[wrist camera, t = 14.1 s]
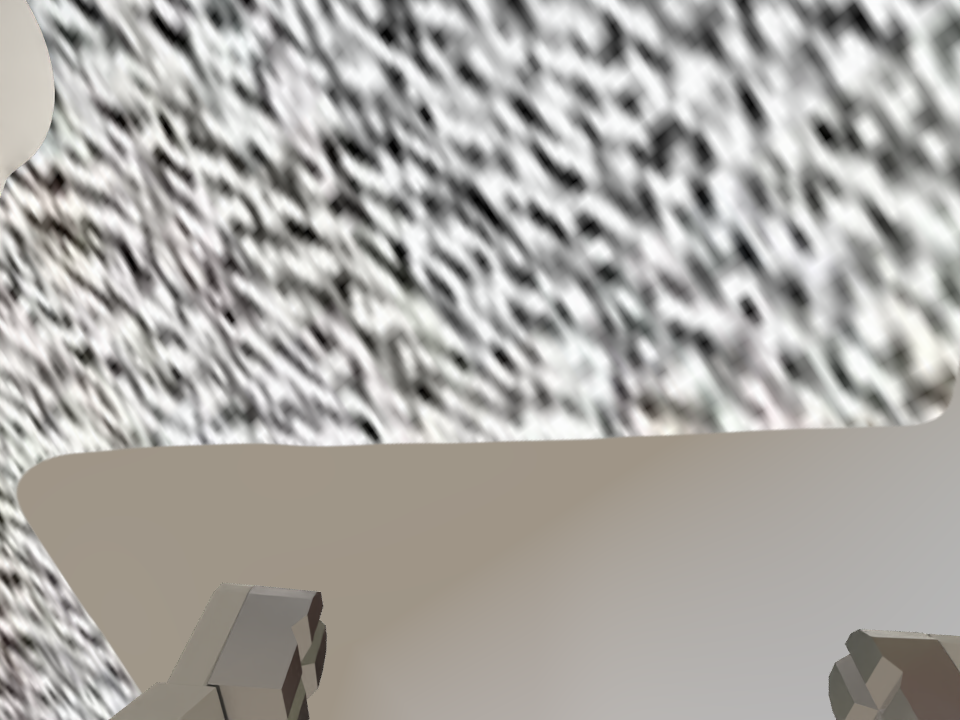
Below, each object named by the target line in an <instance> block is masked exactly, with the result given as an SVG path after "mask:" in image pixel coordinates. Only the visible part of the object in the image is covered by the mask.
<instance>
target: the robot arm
mask: <svg viewBox="0 0 960 720" xmlns="http://www.w3.org/2000/svg"><path fill="white" fill-rule="evenodd" d="M54 100H55V88H54V77H53V70H52V65H51V60H50V56H49V52H48V49H47V46H46V43H45V40H44V37H43V34H42V32H41V29H40V27H39V25H38V23H37V20H36V18H35V16H34V14H33V12H32V10H31V9H30V7H29V5H28V3H27V2H26V0H0V197H1V194H2V191H3V189H4V185H5V182H6V179H7V178H8V177H9V176H10V175H11V174H12V173H13V172H14V171H15V170H16V169H18V168H19V167H20V166H22V165H23V164H24V163H26V162H27V161H28V160H29V159H30V158H31V157H32V156H33V155H34V154H35V153H36V152H37V150H38V149H39V148H40V146H41V145H42V143H43V141H44V140H45V138H46V135H47V133H48V131H49V128H50V124H51V121H52V116H53V110H54ZM322 609H323V602H322V595H321V592H315V591H305V590H295V589H285V588H274V587H264V586H255V585H242V584H230V583H222V584H221V585H220V586H219V587H218V588H217V589H216V590H215V591H214V593H213V594H212V596H211V598H210V600H209V602H208V604H207V606H206V608H205V610H204V612H203V614H202V616H201V618H200V619H199V622H198V623H197V625H196V627H195V629H194V631H193V633H192V635H191V637H190V639H189V641H188V643H187V645H186V647H185V649H184V651H183V652H182V655H181V656H180V658H179V660H178V662H177V665H176V666H175V668H174V670H173V672H172V674H171V676H170V678H169V680H168V682H167V683H160V682H159V683H158V682H157V683H155V684H154V685H153V686H151V687H150V688H149V689H148V690H146V691H145V692H144V693H142V694H141V695H140V696H139V697H137V698H136V699H135V700H134V701H132V702H131V703H130V704H128V705H127V706H126V707H125V708H123V709H122V710H121V711H119V712H118V713H117V714H116V715H114V716H113V717H112V718H110V719H109V720H309V712H308V705H307V699H308V698H309V697H310V696H311V695H312V694H313V693H314V692H315V691H316V690H317V689H318V687H319V683H320V679H321V676H322V672H323V667H324V661H325V655H326V644H327V643H326V642H327V633H326V625H325V624H324V623H322V621H320V620H319V619H320V615H321V612H322ZM845 645H846V647H847V649H848V651H849V652H850V654H849V655H847V656H846V657H844V658H842V659H841V660H839V661H837V662H836V663H835V664H834V667H833V669H832V671H831V673H830V675H829V698H830V702H831V706H832V711H833V713H834V715H835V717H836V720H960V636H951V635H935V634H924V633H918V632H901V631H882V630H865V629H859V630H857V631H855V632H853V633H851V634H850V636H849V638H848V640H847V641H846V643H845Z"/></svg>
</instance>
